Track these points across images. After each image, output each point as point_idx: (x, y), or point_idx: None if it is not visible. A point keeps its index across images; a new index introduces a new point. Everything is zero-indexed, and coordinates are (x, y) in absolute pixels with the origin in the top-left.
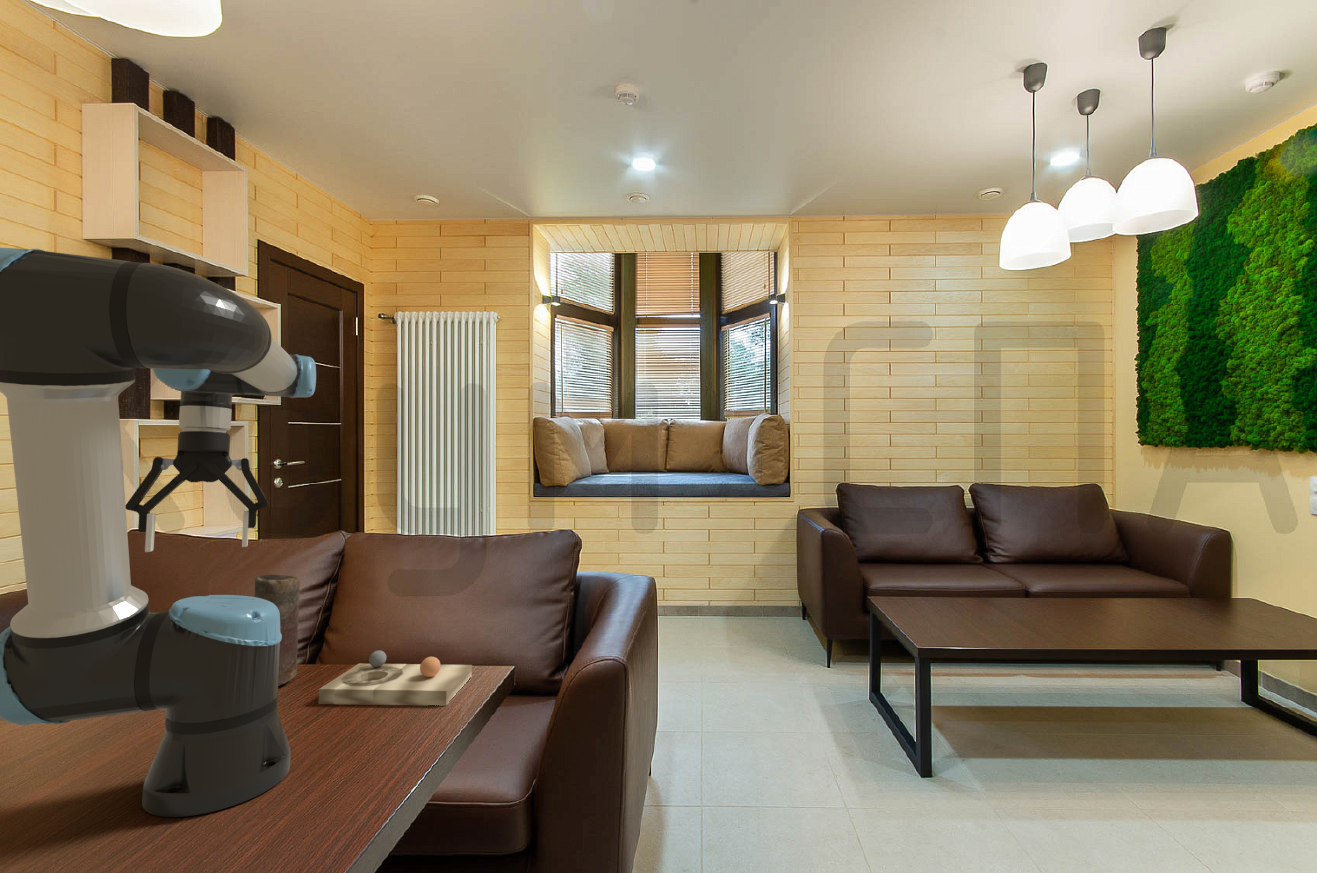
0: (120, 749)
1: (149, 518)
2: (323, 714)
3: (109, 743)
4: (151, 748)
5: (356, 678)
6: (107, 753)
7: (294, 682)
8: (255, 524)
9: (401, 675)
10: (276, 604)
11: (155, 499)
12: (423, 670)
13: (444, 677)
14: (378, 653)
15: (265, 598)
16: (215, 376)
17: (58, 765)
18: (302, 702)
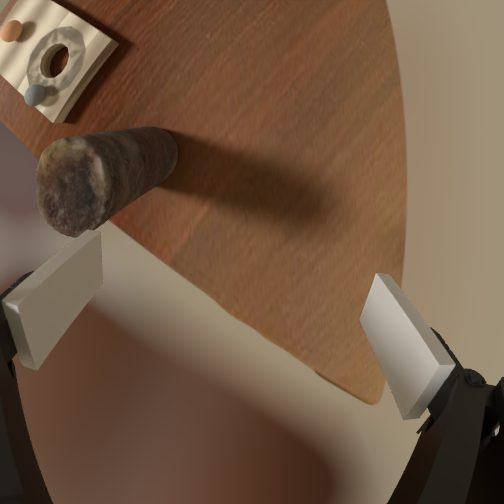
0: (318, 36)
1: (439, 349)
2: (124, 10)
3: (329, 61)
4: (291, 17)
5: (69, 59)
6: (329, 34)
7: None
8: (22, 277)
9: (33, 48)
10: (97, 133)
11: (465, 426)
12: (19, 22)
13: None
14: (30, 88)
15: (109, 140)
16: None
17: (365, 38)
18: (132, 59)
